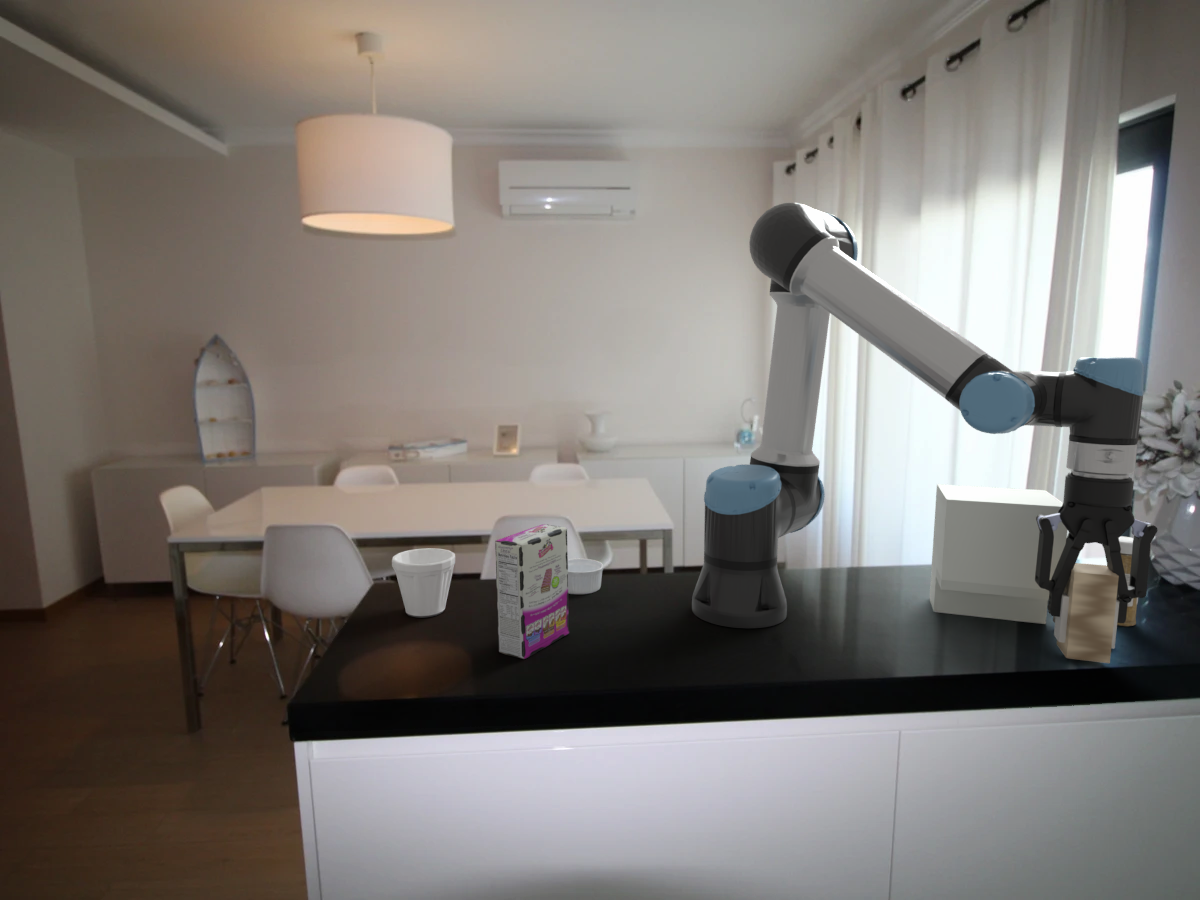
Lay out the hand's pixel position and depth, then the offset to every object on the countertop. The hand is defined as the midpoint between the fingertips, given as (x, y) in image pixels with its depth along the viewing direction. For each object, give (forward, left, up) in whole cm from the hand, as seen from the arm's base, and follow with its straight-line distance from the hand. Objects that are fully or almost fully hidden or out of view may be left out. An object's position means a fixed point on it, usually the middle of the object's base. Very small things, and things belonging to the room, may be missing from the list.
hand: (1083, 641), depth 99 cm
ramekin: (-76, +6, -3) cm, 77 cm away
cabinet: (-9, +14, -3) cm, 17 cm away
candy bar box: (-73, -20, -3) cm, 76 cm away
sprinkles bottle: (+10, +19, -3) cm, 22 cm away
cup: (-95, -14, -3) cm, 96 cm away
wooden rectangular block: (0, +5, -2) cm, 5 cm away
